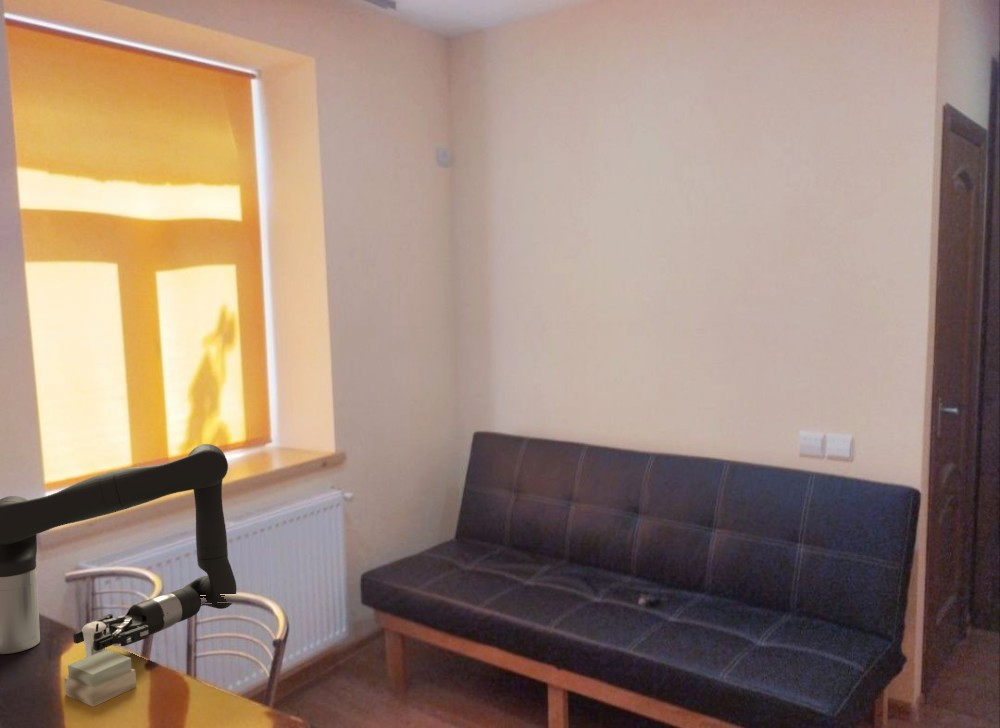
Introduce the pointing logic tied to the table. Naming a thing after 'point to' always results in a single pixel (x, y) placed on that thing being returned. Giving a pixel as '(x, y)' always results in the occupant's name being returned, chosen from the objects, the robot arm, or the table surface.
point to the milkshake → (93, 636)
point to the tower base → (100, 689)
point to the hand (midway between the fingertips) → (84, 642)
